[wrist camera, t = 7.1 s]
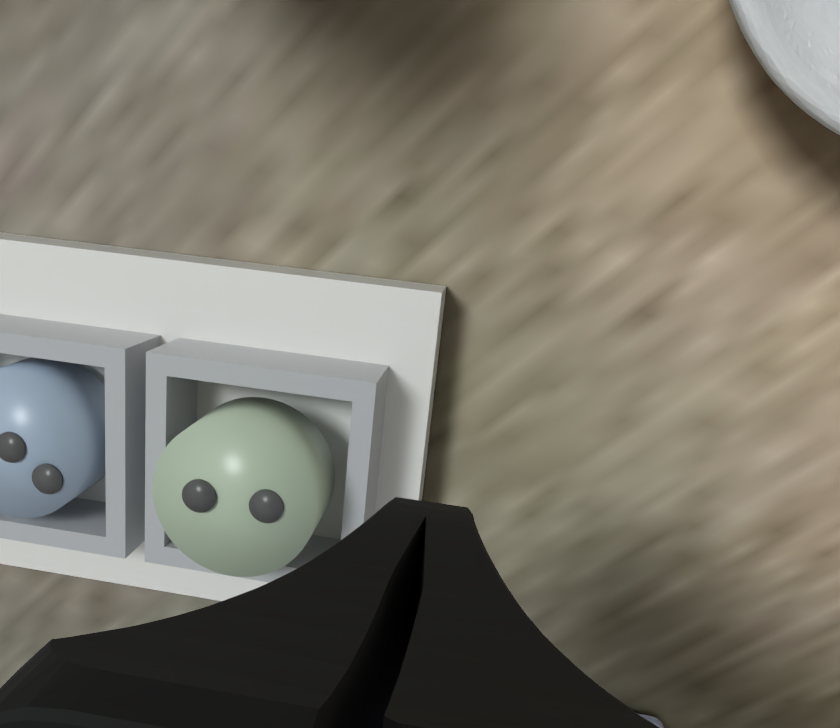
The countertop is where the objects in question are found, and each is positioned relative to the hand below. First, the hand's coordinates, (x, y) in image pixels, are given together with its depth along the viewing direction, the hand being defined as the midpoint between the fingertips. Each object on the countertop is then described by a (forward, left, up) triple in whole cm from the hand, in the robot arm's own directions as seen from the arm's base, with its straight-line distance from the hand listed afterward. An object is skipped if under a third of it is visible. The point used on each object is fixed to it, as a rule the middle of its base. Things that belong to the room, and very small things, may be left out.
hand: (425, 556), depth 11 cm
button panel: (-2, +12, -10) cm, 16 cm away
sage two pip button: (-2, +5, -7) cm, 9 cm away
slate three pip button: (-2, +12, -9) cm, 15 cm away
